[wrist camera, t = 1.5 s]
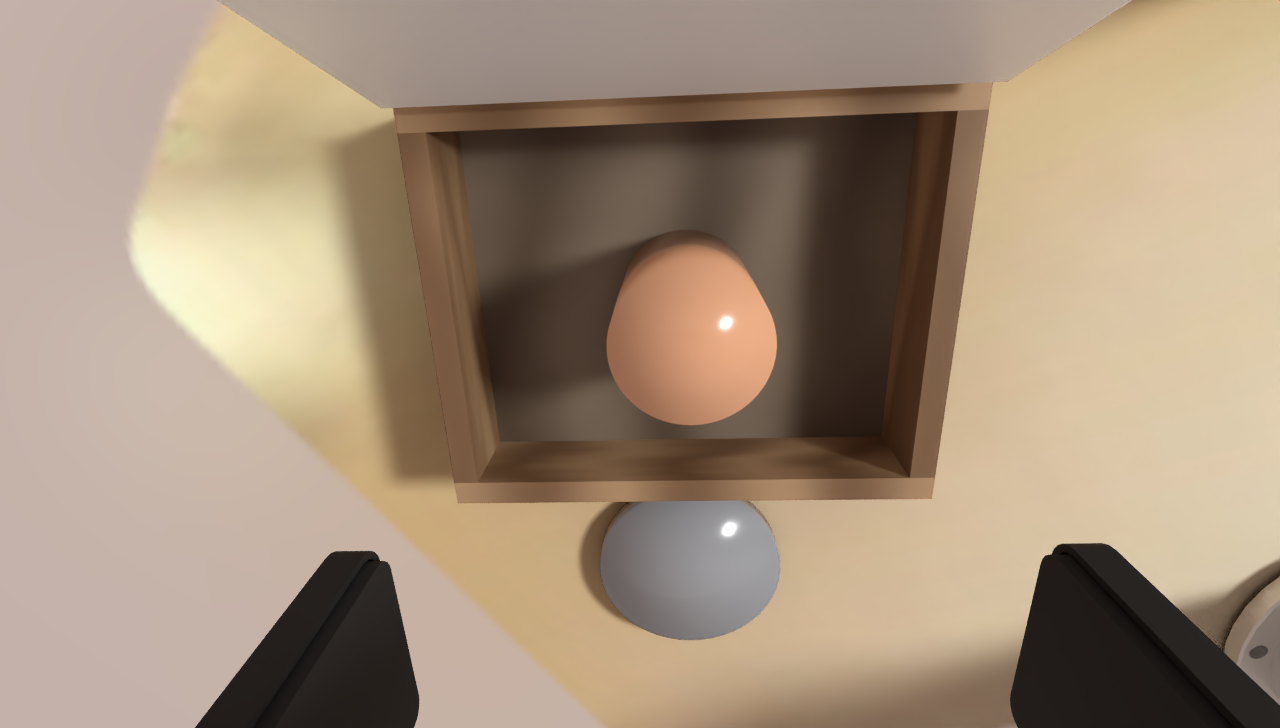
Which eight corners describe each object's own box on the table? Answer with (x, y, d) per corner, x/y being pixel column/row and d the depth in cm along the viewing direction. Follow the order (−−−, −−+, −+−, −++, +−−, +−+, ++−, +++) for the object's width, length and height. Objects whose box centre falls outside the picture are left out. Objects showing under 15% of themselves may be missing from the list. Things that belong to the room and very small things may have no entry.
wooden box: (943, 83, 24) (993, 76, 20) (898, 451, 30) (931, 498, 26) (433, 105, 25) (392, 102, 22) (483, 457, 31) (457, 503, 27)
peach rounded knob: (752, 227, 26) (780, 261, 20) (749, 354, 28) (773, 424, 22) (618, 231, 26) (601, 266, 20) (624, 356, 28) (611, 426, 22)
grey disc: (780, 480, 31) (783, 491, 30) (773, 626, 34) (776, 640, 33) (596, 482, 31) (594, 493, 30) (607, 625, 34) (605, 639, 33)
